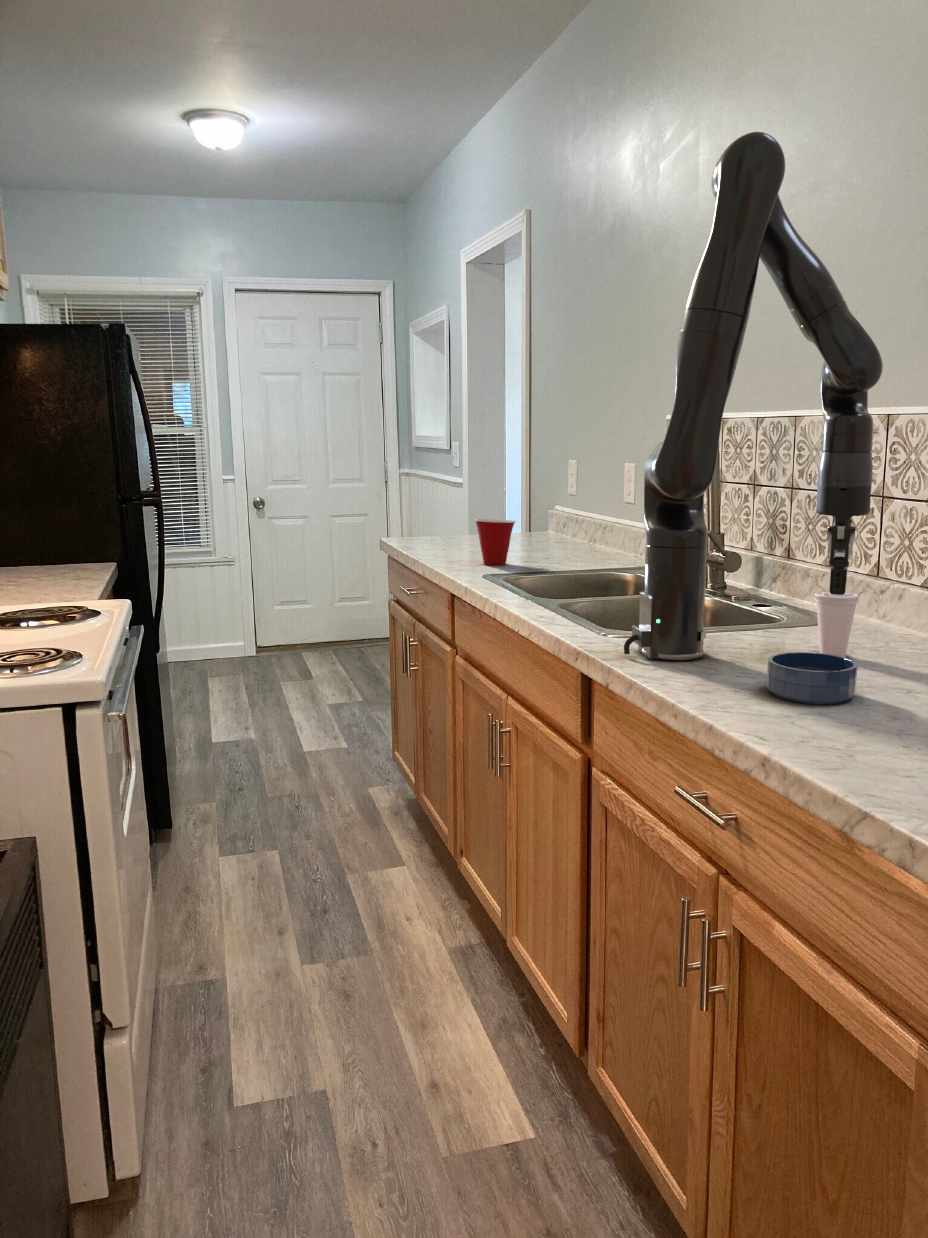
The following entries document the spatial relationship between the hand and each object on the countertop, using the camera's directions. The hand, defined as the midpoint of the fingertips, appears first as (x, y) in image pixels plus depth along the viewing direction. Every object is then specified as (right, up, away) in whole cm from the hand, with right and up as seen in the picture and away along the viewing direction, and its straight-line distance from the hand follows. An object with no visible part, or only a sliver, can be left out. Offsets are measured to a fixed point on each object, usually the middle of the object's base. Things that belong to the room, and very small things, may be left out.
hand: (837, 589), depth 147 cm
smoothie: (0, -10, +2) cm, 11 cm away
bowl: (-11, -15, -19) cm, 27 cm away
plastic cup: (-49, +10, +105) cm, 117 cm away
